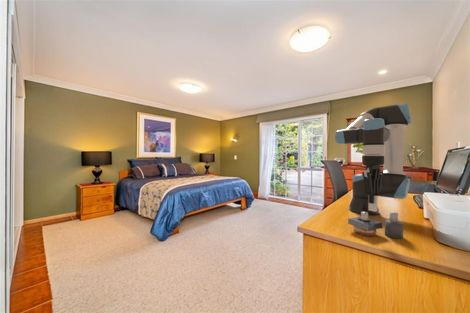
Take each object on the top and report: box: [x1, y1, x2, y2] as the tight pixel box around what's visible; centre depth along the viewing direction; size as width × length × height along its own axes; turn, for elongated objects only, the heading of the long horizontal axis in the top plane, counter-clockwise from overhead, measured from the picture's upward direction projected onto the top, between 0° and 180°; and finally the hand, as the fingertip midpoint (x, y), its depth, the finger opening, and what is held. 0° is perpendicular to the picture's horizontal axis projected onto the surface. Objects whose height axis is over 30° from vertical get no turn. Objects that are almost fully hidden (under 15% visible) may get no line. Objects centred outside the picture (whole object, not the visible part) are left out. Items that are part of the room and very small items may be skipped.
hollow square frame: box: [347, 215, 383, 231], centre depth 85 cm, size 9×9×2 cm
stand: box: [384, 211, 404, 240], centre depth 82 cm, size 6×6×10 cm
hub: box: [352, 211, 377, 237], centre depth 85 cm, size 8×8×9 cm
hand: (372, 210), depth 82 cm, fingers closed
